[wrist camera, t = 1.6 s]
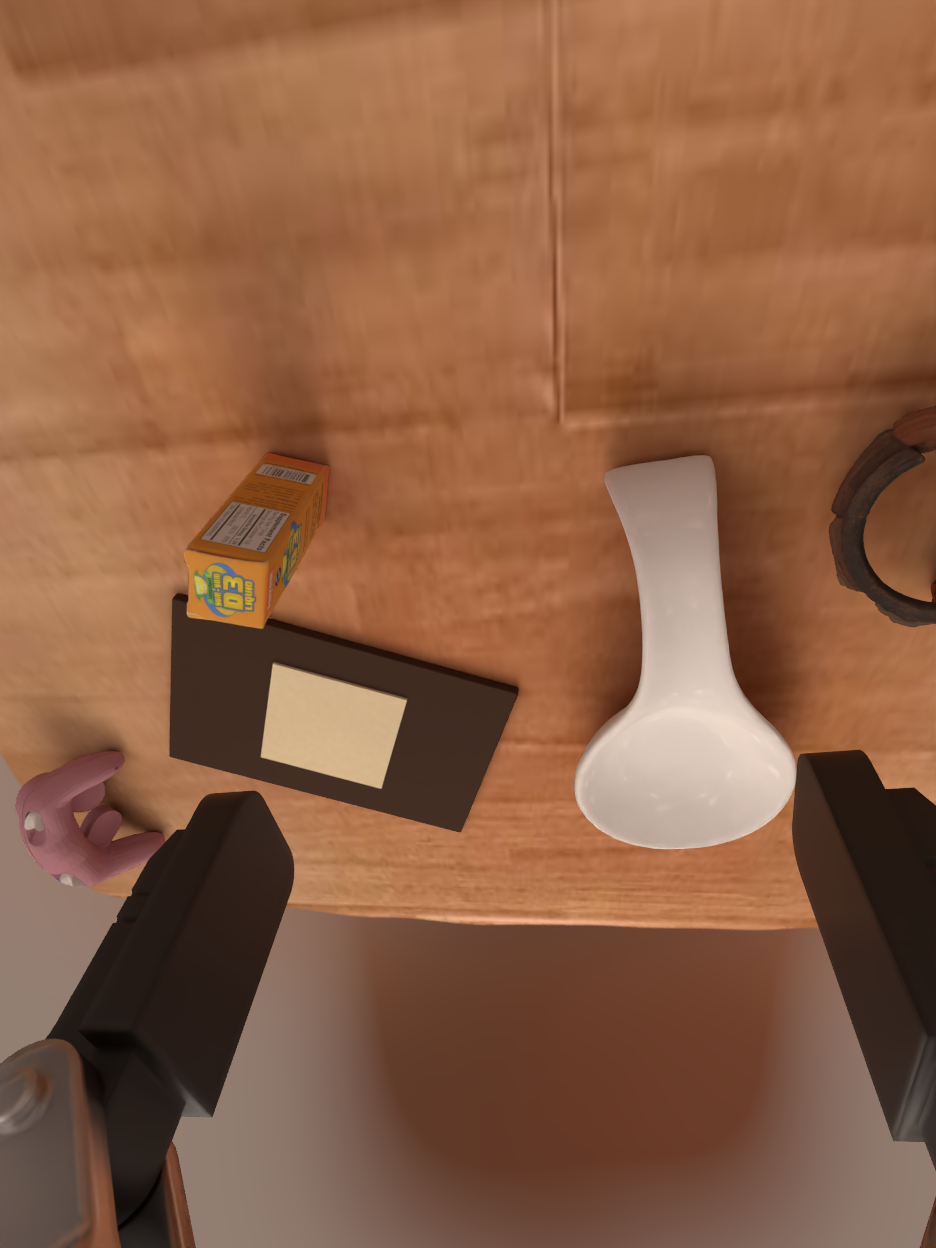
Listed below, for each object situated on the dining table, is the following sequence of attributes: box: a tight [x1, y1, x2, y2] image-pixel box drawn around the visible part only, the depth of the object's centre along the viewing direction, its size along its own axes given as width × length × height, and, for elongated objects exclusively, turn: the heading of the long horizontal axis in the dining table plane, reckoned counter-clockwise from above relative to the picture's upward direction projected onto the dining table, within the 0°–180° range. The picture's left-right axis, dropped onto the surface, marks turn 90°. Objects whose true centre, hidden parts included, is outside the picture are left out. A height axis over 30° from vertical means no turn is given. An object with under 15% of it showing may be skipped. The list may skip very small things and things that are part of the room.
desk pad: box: [170, 594, 518, 832], centre depth 42 cm, size 20×13×1 cm, turn 75°
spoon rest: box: [574, 455, 797, 849], centre depth 35 cm, size 24×12×7 cm, turn 13°
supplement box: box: [184, 453, 329, 629], centre depth 30 cm, size 3×3×10 cm
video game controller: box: [15, 751, 165, 889], centre depth 47 cm, size 10×5×7 cm, turn 5°
